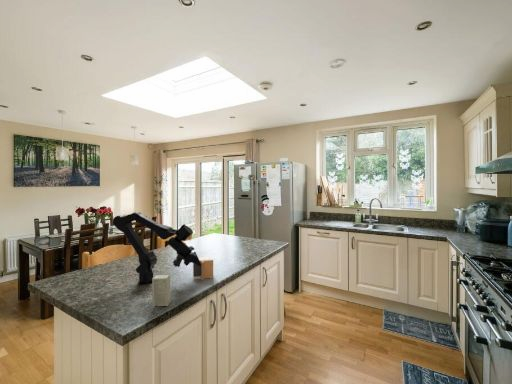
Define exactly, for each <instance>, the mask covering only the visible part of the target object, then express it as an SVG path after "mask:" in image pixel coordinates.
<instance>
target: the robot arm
mask: <svg viewBox="0 0 512 384" xmlns="http://www.w3.org/2000/svg"><path fill="white" fill-rule="evenodd" d="M134 221H135V222H137V223H139V224H140V225H142V226H144V227H146V228H147V229H149V230H150V231H153V233H155V235H156V236H157V237H158V238H160V239H161V240H165V241H164V248H167V247H168V246H169V247H171V248H172V249H173V250H174V251H175V252H176V257H175V258H174V259H173V261H172V263H173V266H174V268H175V267H176V268H177V267H178V268H180V266H181V263H182V261H183V265H185V266H186V267H187V266H188V265H190V263H192V264H193V263H194V264H196V265H198V266H201V262H200V260H199V258H200V257H199V256H198V254H197V252H196V251H194V250H195V247H193V246H191V245H189V246H188V245H187V243H186V242H184V241H187V239H189V238H190V237H191V236H192V235H193V234H194V232H193V229H192V228H191V227H189V226H188V225H186V224H182V225H181V226H180V227H179V228H178V229H174V228H173V227H171V226H168V225H166V224H162V223H159V222H157V221H155V220H153V219H152V218H150V217H148V216H146V215H145V214H143V213H141V212H140V211H137V212H136V211H135V212H132V213H129V214H121V215H116V216H115V217H114V218H113V219H112V224H113V225H114V227H115V228H116V229H117V230H118V231H120V232H122V234H124V236H125V237H126V239H127V241H128V242H129V243H130V245H131V247H132V248H133V249H134V251H135V253H136V254H137V257H138V263H139V265H138V266H137V267H136V268H135V272H136V273H137V274H138V280H137V282H138V285H139V286H140V285H141V286H142V285H147V284H152V278H153V277H154V271H153V269H154V267H155V265H157V263H158V258H157V257H158V256H157V255H156V253H155V252H154V250H151V251H149V250H148V249H147V248H146V246H145V244H144V243H143V242H142V240H141V238H140V237H139V235H138V233H137V232H136V231H135V230H134V227H133V222H134ZM193 251H194V252H193Z"/></svg>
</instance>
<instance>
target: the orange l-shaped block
mask: <svg viewBox="0 0 512 384" xmlns="http://www.w3.org/2000/svg"><path fill="white" fill-rule="evenodd" d="M210 278H214V259H210V260H204V261H201V279H200V280H201V281H205V279H210Z"/></svg>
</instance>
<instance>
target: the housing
mask: <svg viewBox="0 0 512 384" xmlns="http://www.w3.org/2000/svg"><path fill="white" fill-rule="evenodd" d="M198 258H199V260H200V262H201V261H204V260H211V259H210V256H205V257H198ZM192 279H193V280H201V266H198V265H196V264H194V263H192Z"/></svg>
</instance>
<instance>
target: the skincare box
mask: <svg viewBox="0 0 512 384" xmlns="http://www.w3.org/2000/svg"><path fill="white" fill-rule="evenodd" d="M151 285H152V308H156V307H155V306H167V307H169V305H170V303H171V275H170V274H155V275H153V278H152V283H151Z"/></svg>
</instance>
